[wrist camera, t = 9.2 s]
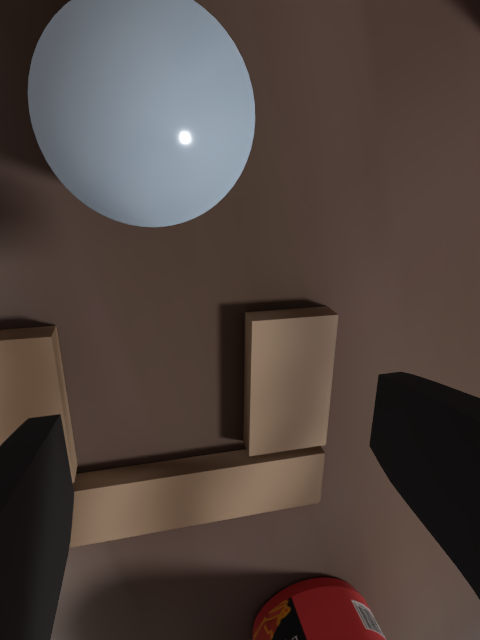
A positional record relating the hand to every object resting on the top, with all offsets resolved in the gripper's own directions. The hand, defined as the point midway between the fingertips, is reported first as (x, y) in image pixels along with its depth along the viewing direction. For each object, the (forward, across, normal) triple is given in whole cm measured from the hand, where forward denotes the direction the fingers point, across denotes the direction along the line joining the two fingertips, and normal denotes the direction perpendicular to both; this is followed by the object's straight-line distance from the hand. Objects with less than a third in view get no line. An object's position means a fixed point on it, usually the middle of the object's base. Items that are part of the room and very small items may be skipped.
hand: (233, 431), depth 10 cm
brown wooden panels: (+10, +1, +6) cm, 12 cm away
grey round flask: (+10, +1, -9) cm, 13 cm away
